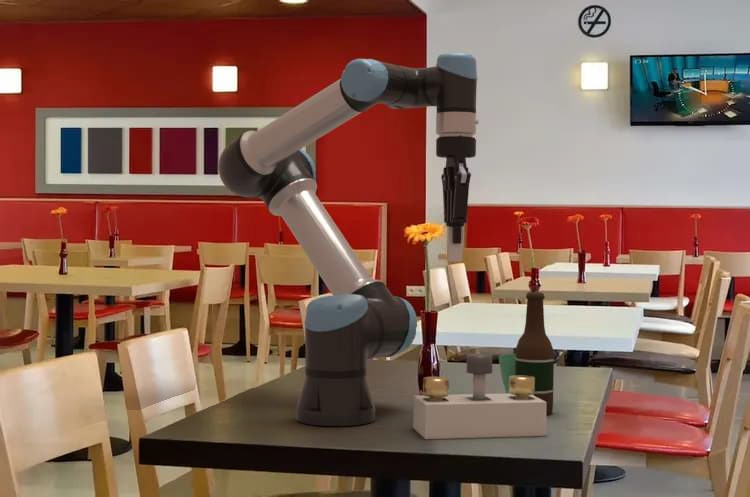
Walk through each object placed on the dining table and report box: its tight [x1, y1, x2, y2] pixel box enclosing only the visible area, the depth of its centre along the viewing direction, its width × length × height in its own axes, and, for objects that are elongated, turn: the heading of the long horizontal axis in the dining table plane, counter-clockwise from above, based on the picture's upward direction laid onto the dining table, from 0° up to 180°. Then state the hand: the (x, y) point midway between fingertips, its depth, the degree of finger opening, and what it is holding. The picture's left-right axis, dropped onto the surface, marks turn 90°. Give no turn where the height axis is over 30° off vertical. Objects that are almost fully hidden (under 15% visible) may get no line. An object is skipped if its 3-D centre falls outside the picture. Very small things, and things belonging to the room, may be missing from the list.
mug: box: [498, 353, 515, 394], centre depth 226 cm, size 15×10×10 cm
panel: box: [412, 393, 547, 440], centre depth 195 cm, size 22×10×6 cm, turn 100°
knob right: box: [509, 375, 535, 400], centre depth 196 cm, size 5×5×8 cm
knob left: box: [422, 376, 450, 402], centre depth 194 cm, size 5×5×8 cm
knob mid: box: [466, 353, 493, 401], centre depth 195 cm, size 5×5×8 cm
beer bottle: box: [514, 291, 555, 416], centre depth 214 cm, size 8×8×24 cm
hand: (454, 261), depth 205 cm, fingers closed
